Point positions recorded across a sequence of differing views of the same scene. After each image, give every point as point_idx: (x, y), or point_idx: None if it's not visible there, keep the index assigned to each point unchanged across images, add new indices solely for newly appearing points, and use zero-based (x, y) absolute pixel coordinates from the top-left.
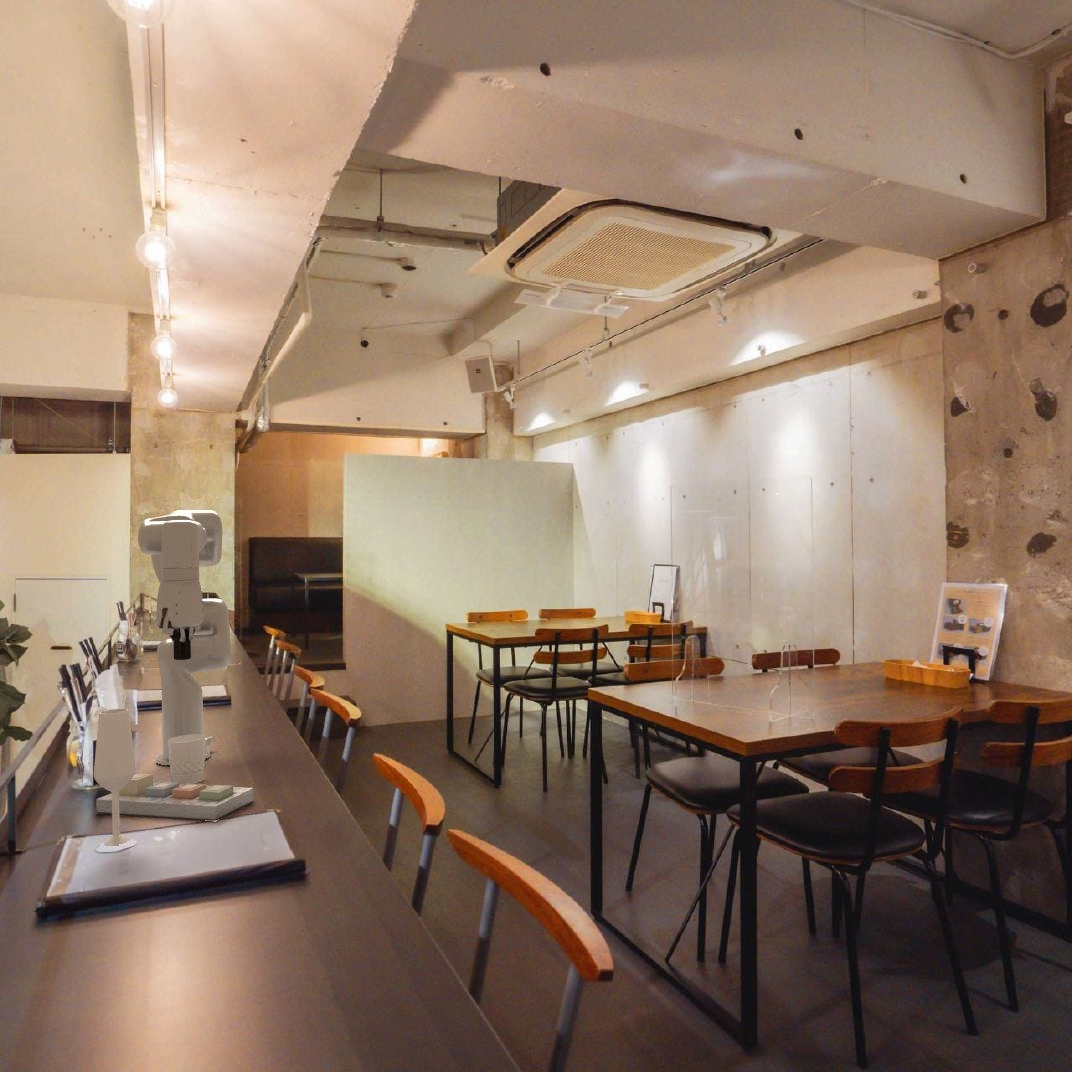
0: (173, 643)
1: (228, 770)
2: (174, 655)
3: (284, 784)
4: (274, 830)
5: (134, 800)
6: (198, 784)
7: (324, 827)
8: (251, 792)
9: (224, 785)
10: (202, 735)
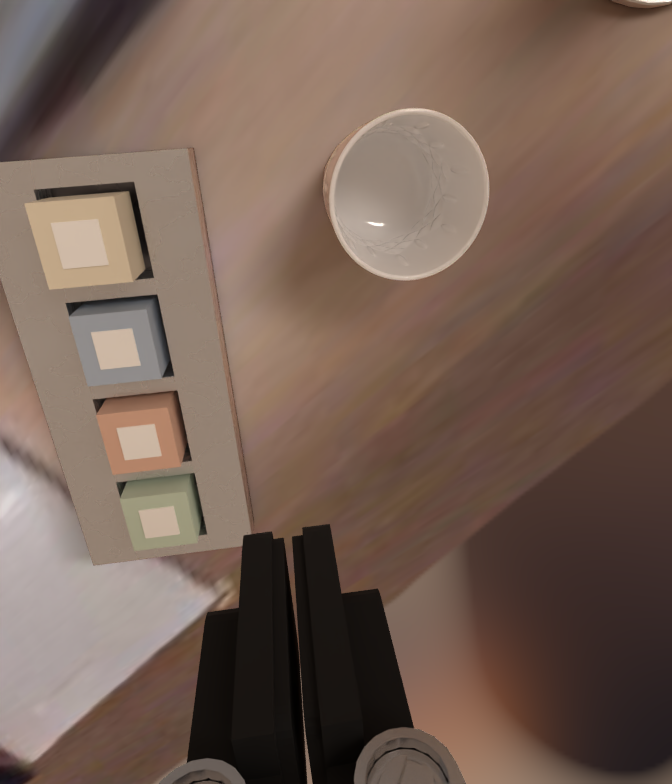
0: (235, 706)
1: (519, 227)
2: (241, 573)
3: (405, 492)
4: (120, 665)
5: (23, 319)
6: (171, 447)
7: (173, 722)
8: None
9: (191, 520)
10: (475, 227)
